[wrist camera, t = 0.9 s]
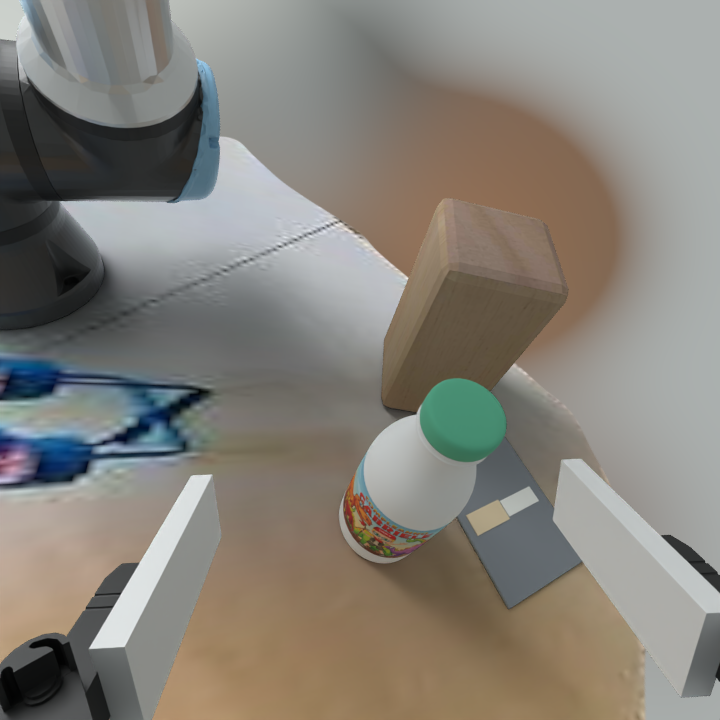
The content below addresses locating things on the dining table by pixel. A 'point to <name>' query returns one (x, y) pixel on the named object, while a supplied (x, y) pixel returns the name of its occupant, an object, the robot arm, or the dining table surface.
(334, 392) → the dining table surface
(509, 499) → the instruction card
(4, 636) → the dining table surface
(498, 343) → the wooden block
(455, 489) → the milk bottle
